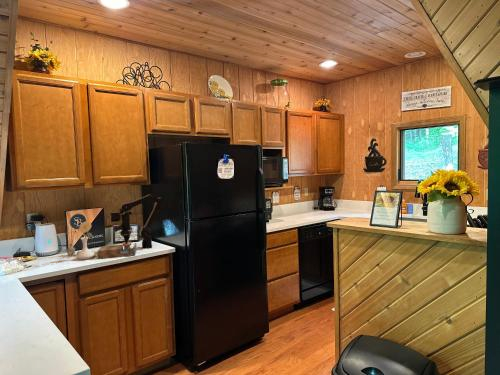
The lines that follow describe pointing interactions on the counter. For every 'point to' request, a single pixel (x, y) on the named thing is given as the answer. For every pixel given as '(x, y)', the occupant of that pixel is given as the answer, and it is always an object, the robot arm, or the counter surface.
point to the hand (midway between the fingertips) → (127, 242)
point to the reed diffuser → (71, 249)
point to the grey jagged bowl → (129, 251)
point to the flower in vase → (85, 242)
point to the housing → (110, 251)
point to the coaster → (126, 244)
